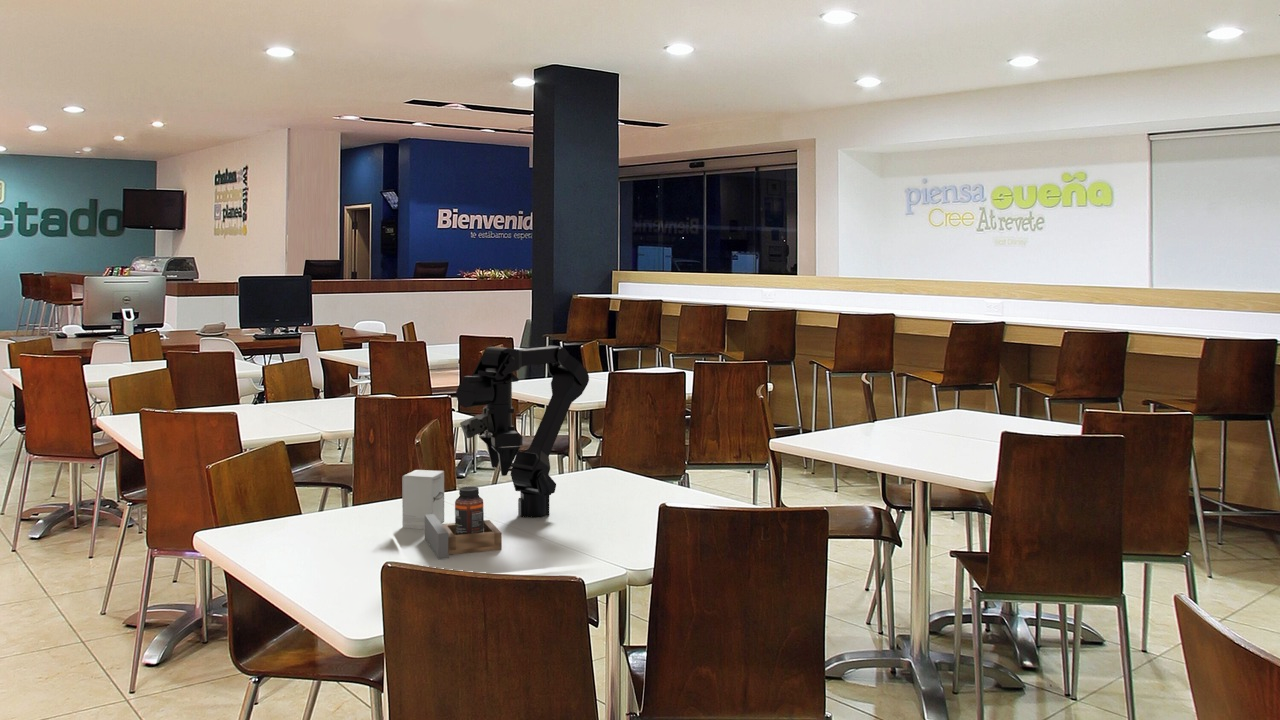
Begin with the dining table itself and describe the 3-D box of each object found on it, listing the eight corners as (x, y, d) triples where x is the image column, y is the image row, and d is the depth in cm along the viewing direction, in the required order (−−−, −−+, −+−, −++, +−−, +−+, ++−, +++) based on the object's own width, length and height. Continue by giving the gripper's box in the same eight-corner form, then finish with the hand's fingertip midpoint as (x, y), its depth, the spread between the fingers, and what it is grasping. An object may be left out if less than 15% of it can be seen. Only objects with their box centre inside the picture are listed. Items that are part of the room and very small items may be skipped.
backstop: (521, 533, 223) (521, 506, 222) (541, 552, 208) (541, 524, 208) (424, 542, 215) (424, 514, 215) (438, 563, 200) (438, 533, 200)
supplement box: (432, 533, 223) (432, 477, 221) (401, 531, 224) (400, 475, 223) (445, 524, 230) (445, 470, 229) (415, 522, 231) (414, 468, 230)
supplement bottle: (489, 538, 212) (488, 486, 211) (475, 546, 207) (475, 492, 206) (464, 536, 214) (463, 484, 213) (450, 543, 209) (449, 489, 208)
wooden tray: (489, 535, 218) (489, 519, 217) (501, 549, 208) (501, 532, 207) (438, 540, 214) (438, 524, 213) (448, 554, 204) (448, 537, 203)
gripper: (454, 399, 230) (455, 466, 232) (472, 410, 213) (472, 482, 214) (502, 397, 234) (502, 462, 236) (523, 408, 217) (523, 478, 218)
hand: (499, 471), depth 226 cm, fingers open, 9 cm apart
